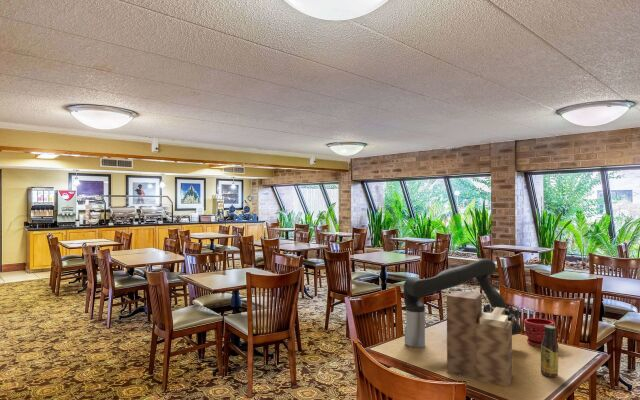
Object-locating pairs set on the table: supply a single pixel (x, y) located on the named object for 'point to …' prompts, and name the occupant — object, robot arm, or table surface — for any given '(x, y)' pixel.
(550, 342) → the sauce bottle
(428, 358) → the table surface
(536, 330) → the plant pot
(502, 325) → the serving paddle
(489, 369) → the block
